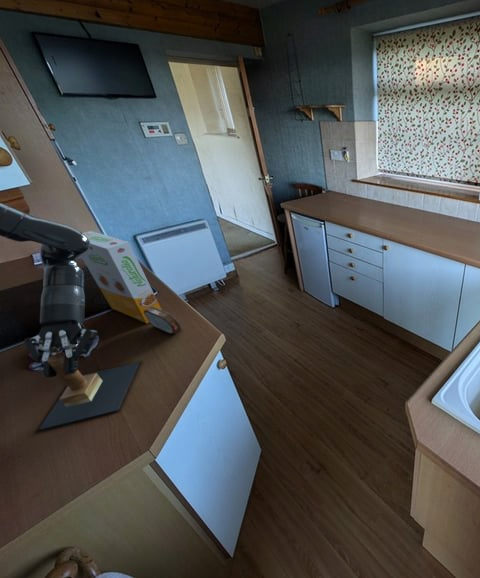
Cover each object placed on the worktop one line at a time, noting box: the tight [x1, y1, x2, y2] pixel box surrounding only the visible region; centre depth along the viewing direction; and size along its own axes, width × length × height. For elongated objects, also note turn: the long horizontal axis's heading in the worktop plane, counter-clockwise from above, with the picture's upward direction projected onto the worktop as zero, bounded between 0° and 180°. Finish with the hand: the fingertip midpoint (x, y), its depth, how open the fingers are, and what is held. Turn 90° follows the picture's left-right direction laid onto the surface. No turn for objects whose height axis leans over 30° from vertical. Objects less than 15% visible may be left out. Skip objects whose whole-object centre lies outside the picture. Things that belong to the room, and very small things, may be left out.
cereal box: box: [79, 230, 162, 324], centre depth 106 cm, size 22×6×30 cm, turn 65°
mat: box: [38, 362, 140, 432], centre depth 81 cm, size 16×18×1 cm
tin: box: [144, 306, 182, 335], centre depth 103 cm, size 15×3×8 cm, turn 65°
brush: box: [47, 352, 102, 407], centre depth 73 cm, size 5×7×13 cm
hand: (60, 375), depth 70 cm, fingers closed on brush, 3 cm apart
